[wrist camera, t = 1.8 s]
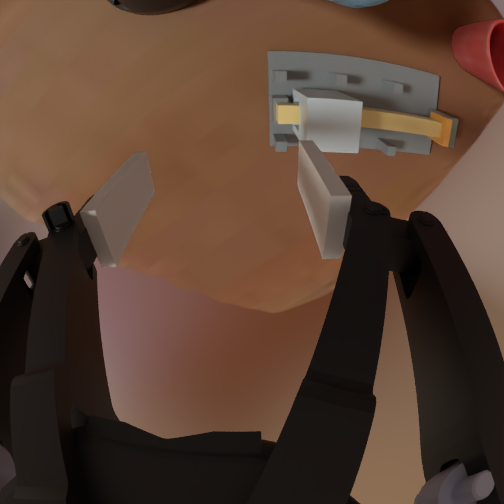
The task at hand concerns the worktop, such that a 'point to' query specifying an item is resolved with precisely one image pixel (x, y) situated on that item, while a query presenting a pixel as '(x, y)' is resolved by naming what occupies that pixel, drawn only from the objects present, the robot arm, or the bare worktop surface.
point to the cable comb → (366, 90)
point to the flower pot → (481, 50)
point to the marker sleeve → (328, 119)
